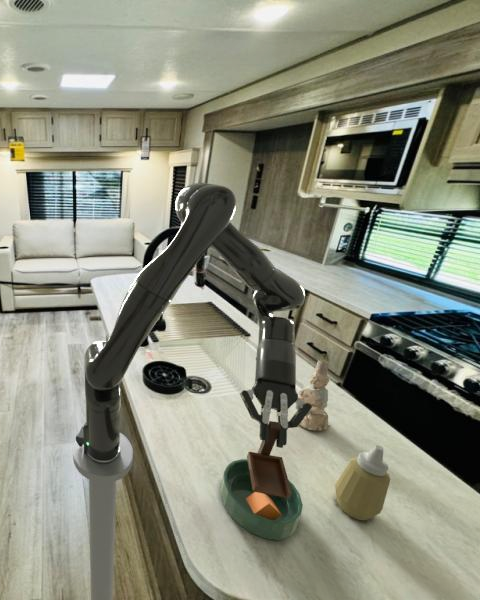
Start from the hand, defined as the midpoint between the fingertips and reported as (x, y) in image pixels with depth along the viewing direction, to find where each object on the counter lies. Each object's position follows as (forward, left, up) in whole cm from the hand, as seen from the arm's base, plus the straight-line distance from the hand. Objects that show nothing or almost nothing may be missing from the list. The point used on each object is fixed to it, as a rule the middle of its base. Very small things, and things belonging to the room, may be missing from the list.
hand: (272, 445), depth 64 cm
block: (0, 0, -16) cm, 16 cm away
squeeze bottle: (+20, +8, -19) cm, 29 cm away
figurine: (+18, +35, -19) cm, 44 cm away
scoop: (+1, 0, -9) cm, 9 cm away
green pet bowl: (0, +1, -19) cm, 19 cm away
